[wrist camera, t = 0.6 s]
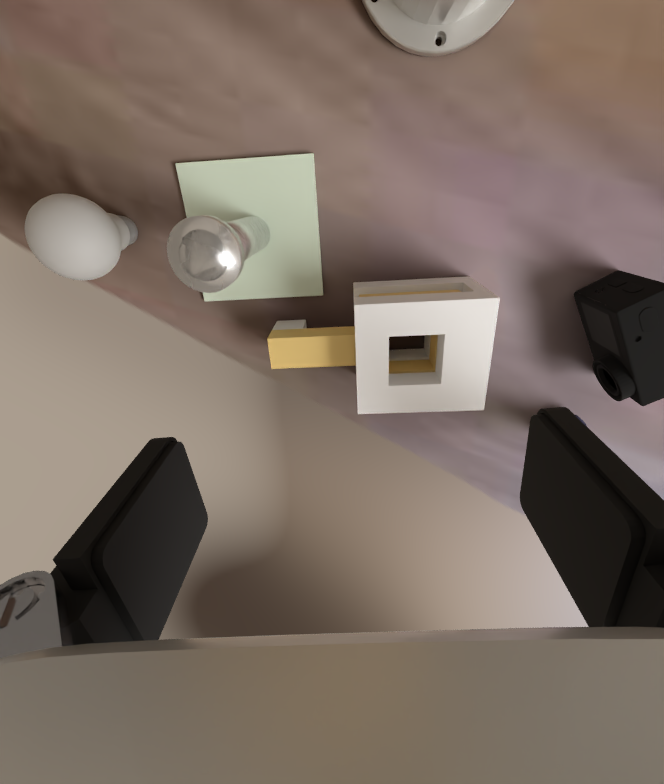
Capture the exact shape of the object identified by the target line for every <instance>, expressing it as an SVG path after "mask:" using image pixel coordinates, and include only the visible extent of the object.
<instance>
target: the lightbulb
mask: <svg viewBox="0 0 664 784" xmlns="http://www.w3.org/2000/svg"><path fill="white" fill-rule="evenodd" d="M25 236H26V240H27V243H28V245H29V247H30V249H31V251H32V252H33V254H34V255H35V257H36V258H37V259H38V260H39V261H40V262H41V263H42V264H43V265H44V266H45V267H47V268H48V269H50V270H51V271H53V272H54V273H56V274H58V275H60V276H63V277H66V278H70V279H74V280H93V279H96V278H99V277H102V276H104V275H105V274H107V273H109V272H110V271H111V270H112V269H113V268H114V266H115V265H116V264H117V262H118V260H119V257H120V253H121V250H123V249H125V248H126V247H127V246H128V245H130V244H133V243H134V242H135V241H136V240H137V237H138V230H137V227H136V225H135V224H134V222H133V221H132V220H131V219H129V218H128V217H126V216H120V215H114V214H111V213H106V212H105V211H104V210H103V209H102V208H101V207H100V206H98V205H97V204H96V203H94V202H92V201H90V200H88V199H86V198H83V197H80V196H77V195H74V194H66V193H60V194H52V195H50V196H47V197H45V198H42V199H40V200H39V201H38V202H36V203H35V204H34V205H33V206H32V207H31V209H30V210H29V212H28V214H27V217H26V220H25Z"/></svg>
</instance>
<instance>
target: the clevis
mask: <svg viewBox="0 0 664 784" xmlns="http://www.w3.org/2000/svg"><path fill="white" fill-rule="evenodd" d="M353 295H354V325H355V326H349V327H327V328H307V326H306V319H305V320H284V321H277V322H276V324H275V326H274V327H273V329H272V331H271V333H270V335H269V336H268V338H267V341H268V348H269V354H270V361H271V368H272V369H279V368H305V367H330V366H356V383H357V406H358V414H378V413H409V412H441V411H473V410H484V406H485V399H486V392H487V385H488V378H489V371H490V364H491V357H492V350H493V343H494V336H495V328H496V321H497V314H498V307H499V300H500V298H499V297H498V296H496V295H495V294H494V293H492V292H491V291H489V290H488V289H486V288H485V287H484V286H482V285H481V284H479V283H478V282H476V281H475V280H474V279H472V278H471V277H469V276H467V277H448V278H429V279H410V280H391V281H372V282H353ZM417 335H425V337H424V349H400V350H389V337H394V336H417Z"/></svg>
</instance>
